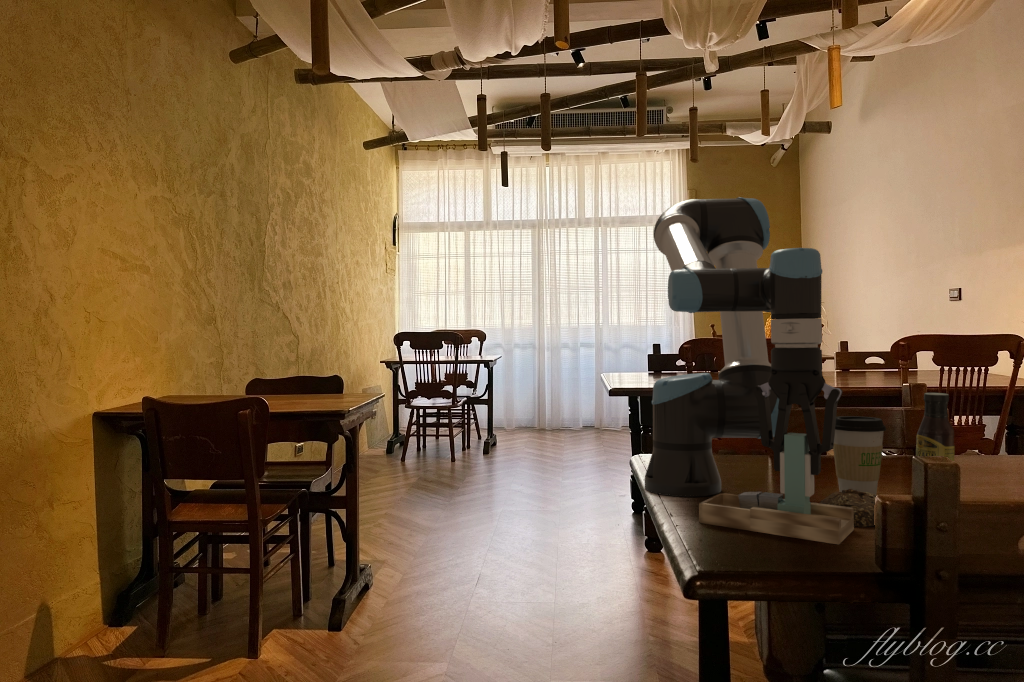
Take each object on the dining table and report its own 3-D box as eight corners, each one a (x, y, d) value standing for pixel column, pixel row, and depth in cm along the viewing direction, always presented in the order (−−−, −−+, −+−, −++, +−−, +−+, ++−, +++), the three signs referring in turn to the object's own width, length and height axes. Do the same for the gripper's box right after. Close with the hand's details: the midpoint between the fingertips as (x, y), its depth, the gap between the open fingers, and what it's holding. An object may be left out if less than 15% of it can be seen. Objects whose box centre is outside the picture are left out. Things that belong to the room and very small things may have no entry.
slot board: (853, 529, 111) (853, 507, 111) (838, 544, 103) (838, 520, 103) (721, 510, 124) (721, 491, 124) (699, 522, 116) (698, 501, 116)
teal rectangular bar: (810, 514, 112) (809, 433, 112) (804, 520, 109) (803, 436, 109) (784, 511, 115) (784, 431, 115) (777, 516, 112) (776, 434, 111)
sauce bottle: (908, 494, 136) (907, 392, 136) (938, 493, 136) (937, 391, 136) (931, 502, 129) (930, 394, 129) (963, 501, 130) (962, 394, 130)
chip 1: (740, 513, 115) (738, 495, 116) (746, 510, 118) (744, 492, 118) (759, 513, 114) (756, 494, 114) (764, 509, 116) (762, 491, 116)
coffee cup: (894, 503, 129) (893, 421, 129) (836, 501, 131) (836, 421, 131) (877, 492, 138) (877, 416, 138) (824, 490, 140) (823, 415, 140)
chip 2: (759, 513, 114) (759, 495, 114) (764, 510, 116) (764, 492, 116) (778, 516, 112) (778, 497, 112) (783, 512, 114) (783, 494, 114)
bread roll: (910, 521, 117) (910, 491, 117) (868, 532, 111) (867, 500, 111) (840, 506, 128) (839, 479, 128) (797, 515, 122) (796, 487, 122)
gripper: (737, 346, 113) (739, 491, 114) (845, 346, 104) (847, 504, 104) (752, 345, 119) (753, 483, 120) (856, 345, 110) (857, 495, 110)
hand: (797, 493), depth 112 cm, fingers closed on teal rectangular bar, 3 cm apart
